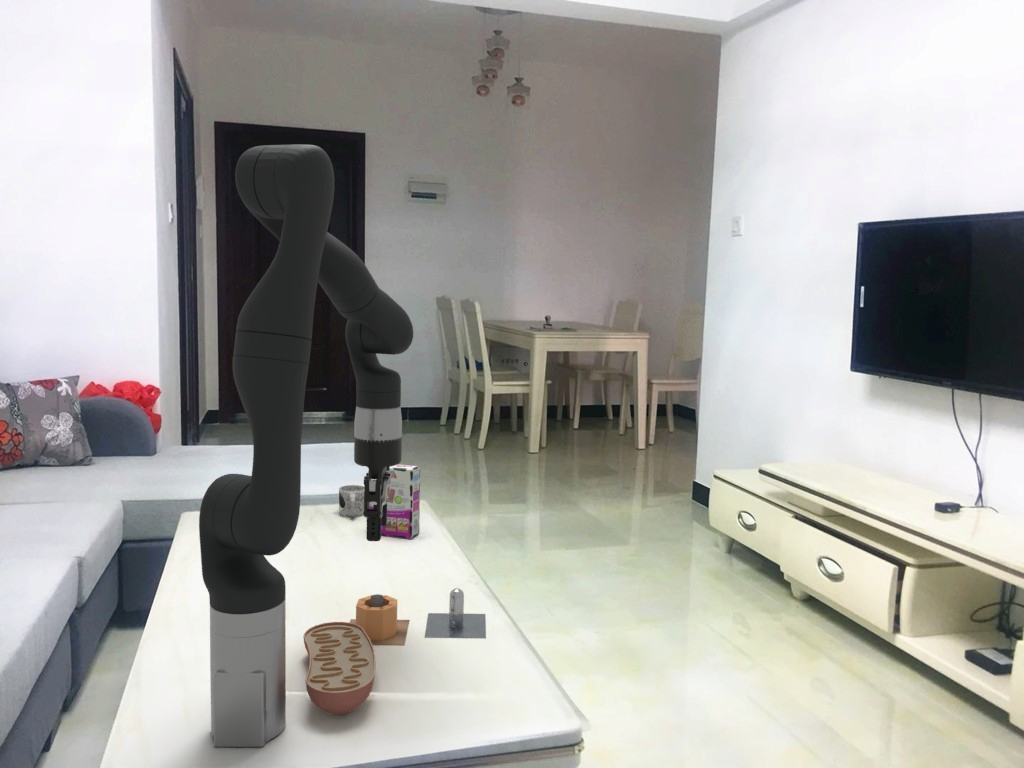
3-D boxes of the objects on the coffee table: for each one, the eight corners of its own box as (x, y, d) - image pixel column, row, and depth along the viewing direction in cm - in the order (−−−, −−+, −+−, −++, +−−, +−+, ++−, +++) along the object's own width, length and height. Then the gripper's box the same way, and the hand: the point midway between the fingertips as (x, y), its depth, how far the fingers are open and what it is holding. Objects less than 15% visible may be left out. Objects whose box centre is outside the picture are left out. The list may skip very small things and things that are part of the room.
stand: (404, 651, 129) (404, 608, 128) (340, 650, 128) (341, 608, 128) (409, 625, 139) (410, 586, 138) (350, 624, 138) (351, 585, 138)
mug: (338, 510, 209) (339, 485, 208) (365, 509, 210) (365, 484, 209) (338, 521, 199) (339, 495, 198) (366, 520, 200) (366, 494, 199)
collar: (394, 640, 130) (394, 610, 130) (354, 639, 130) (354, 609, 130) (398, 624, 137) (398, 595, 136) (359, 623, 136) (360, 594, 136)
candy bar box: (420, 533, 191) (421, 465, 189) (411, 539, 186) (412, 469, 184) (377, 528, 194) (377, 461, 192) (367, 534, 189) (368, 465, 187)
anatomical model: (302, 654, 127) (302, 624, 127) (366, 648, 130) (367, 619, 129) (306, 731, 105) (306, 695, 105) (383, 723, 108) (383, 687, 107)
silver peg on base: (485, 644, 132) (487, 600, 132) (424, 643, 132) (425, 599, 131) (485, 619, 142) (486, 578, 141) (428, 618, 142) (428, 577, 141)
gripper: (397, 443, 123) (396, 546, 125) (405, 427, 137) (404, 520, 139) (347, 442, 122) (346, 546, 124) (360, 426, 137) (360, 519, 138)
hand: (377, 532), depth 132 cm, fingers open, 8 cm apart
